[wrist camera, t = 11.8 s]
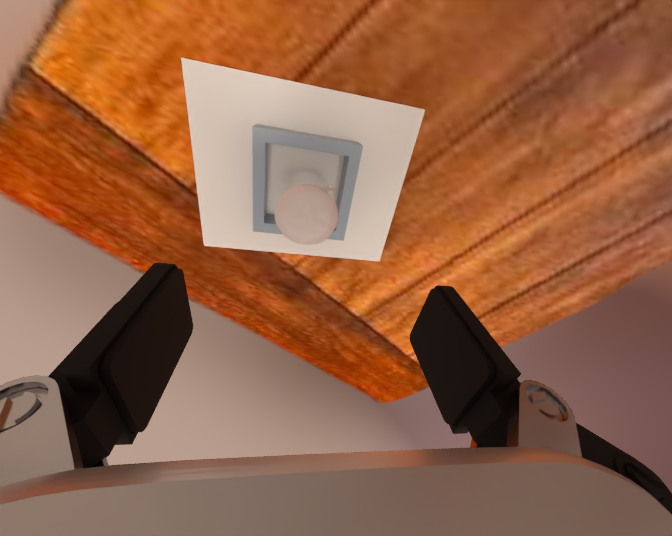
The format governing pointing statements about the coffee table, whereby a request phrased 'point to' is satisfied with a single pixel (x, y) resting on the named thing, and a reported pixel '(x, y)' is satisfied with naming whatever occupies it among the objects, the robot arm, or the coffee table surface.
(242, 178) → the dock
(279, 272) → the coffee table surface
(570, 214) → the coffee table surface
